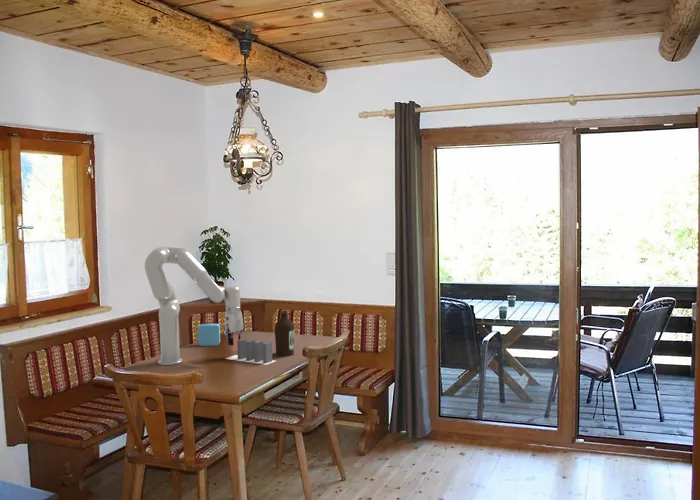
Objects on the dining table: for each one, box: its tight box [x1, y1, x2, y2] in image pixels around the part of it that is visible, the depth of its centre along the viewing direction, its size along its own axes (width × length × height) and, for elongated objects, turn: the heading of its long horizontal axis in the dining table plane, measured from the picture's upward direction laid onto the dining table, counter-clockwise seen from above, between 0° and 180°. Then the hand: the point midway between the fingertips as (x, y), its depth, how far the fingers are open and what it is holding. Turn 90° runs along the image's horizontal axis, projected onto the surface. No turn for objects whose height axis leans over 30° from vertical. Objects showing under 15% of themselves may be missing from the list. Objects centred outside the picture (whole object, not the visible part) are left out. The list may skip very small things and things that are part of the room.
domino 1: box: [237, 338, 248, 360], centre depth 340 cm, size 2×5×10 cm, turn 151°
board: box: [224, 354, 276, 366], centre depth 337 cm, size 27×9×1 cm, turn 60°
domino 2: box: [246, 339, 256, 361], centre depth 337 cm, size 2×5×10 cm, turn 150°
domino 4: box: [263, 341, 273, 363], centre depth 331 cm, size 2×5×10 cm, turn 150°
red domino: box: [229, 331, 239, 352], centre depth 342 cm, size 2×5×10 cm, turn 150°
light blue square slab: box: [197, 323, 221, 347], centre depth 377 cm, size 12×4×12 cm, turn 96°
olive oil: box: [274, 309, 296, 357], centre depth 347 cm, size 11×11×25 cm
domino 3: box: [254, 340, 264, 362], centre depth 334 cm, size 2×5×10 cm, turn 150°
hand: (234, 343), depth 342 cm, fingers closed on red domino, 4 cm apart
